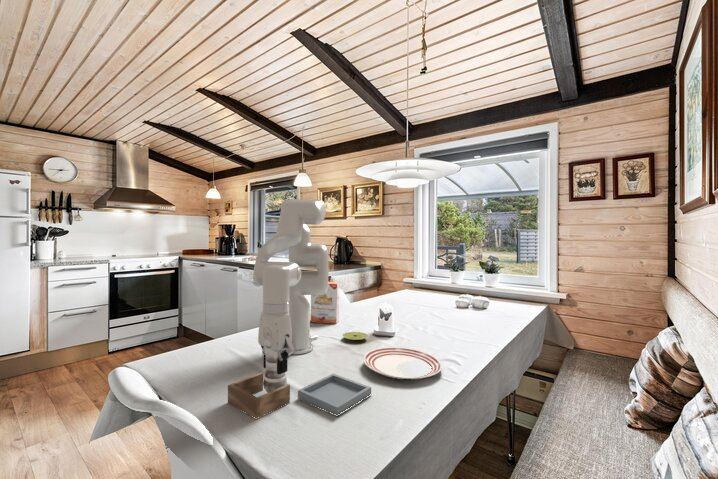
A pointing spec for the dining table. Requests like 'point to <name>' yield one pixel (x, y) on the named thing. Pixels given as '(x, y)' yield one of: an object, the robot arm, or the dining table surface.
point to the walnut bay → (254, 405)
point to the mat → (355, 335)
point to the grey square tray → (334, 393)
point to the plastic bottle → (272, 369)
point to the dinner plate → (399, 361)
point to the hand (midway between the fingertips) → (275, 369)
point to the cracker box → (326, 305)
